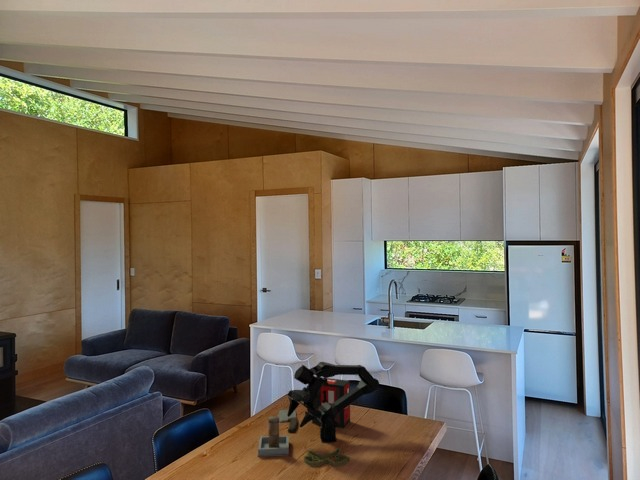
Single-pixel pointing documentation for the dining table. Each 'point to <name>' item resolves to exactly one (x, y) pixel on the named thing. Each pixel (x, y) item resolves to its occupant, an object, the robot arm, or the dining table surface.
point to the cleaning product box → (334, 399)
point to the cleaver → (288, 419)
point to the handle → (273, 431)
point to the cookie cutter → (316, 462)
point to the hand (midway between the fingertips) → (294, 421)
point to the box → (266, 451)
